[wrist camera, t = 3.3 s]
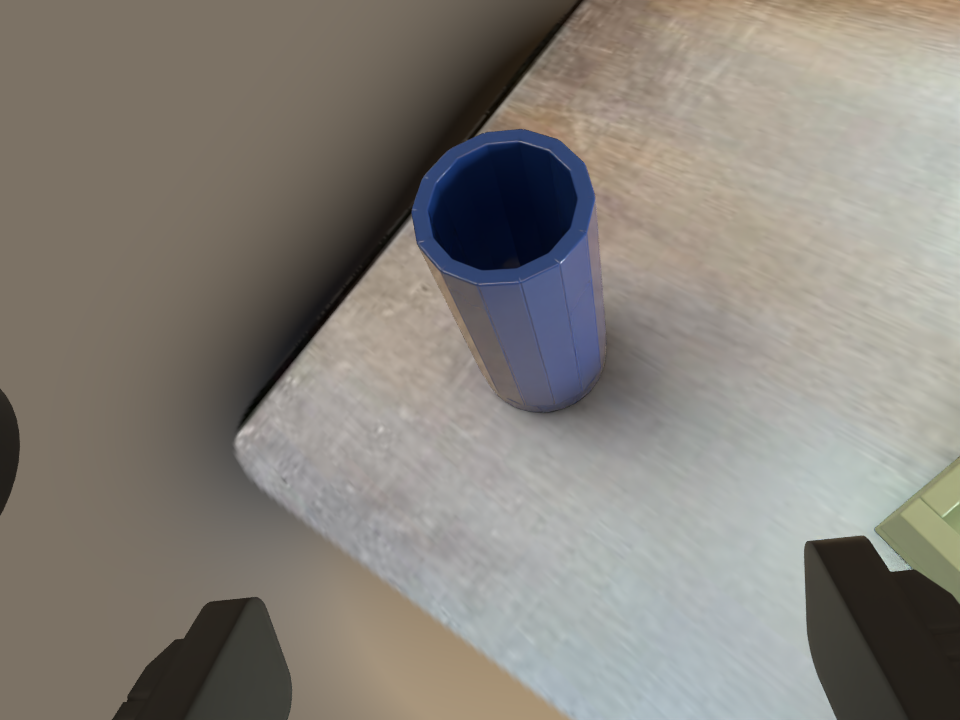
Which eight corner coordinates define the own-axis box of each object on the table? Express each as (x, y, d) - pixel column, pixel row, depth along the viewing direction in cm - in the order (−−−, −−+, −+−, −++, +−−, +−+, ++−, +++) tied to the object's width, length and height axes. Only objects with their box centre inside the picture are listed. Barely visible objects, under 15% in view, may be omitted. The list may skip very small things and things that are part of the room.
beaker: (533, 439, 27) (483, 321, 18) (457, 347, 29) (378, 200, 20) (633, 360, 28) (633, 207, 19) (551, 275, 30) (516, 99, 21)
